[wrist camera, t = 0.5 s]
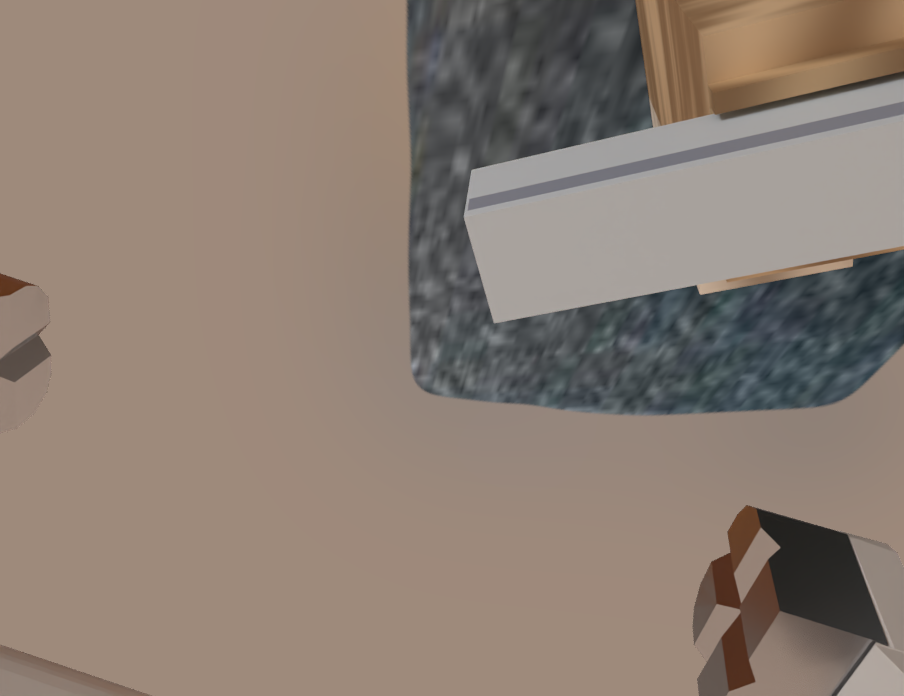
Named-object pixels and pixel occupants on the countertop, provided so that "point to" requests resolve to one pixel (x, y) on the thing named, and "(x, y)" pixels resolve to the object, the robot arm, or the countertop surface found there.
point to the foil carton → (693, 201)
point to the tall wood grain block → (763, 65)
